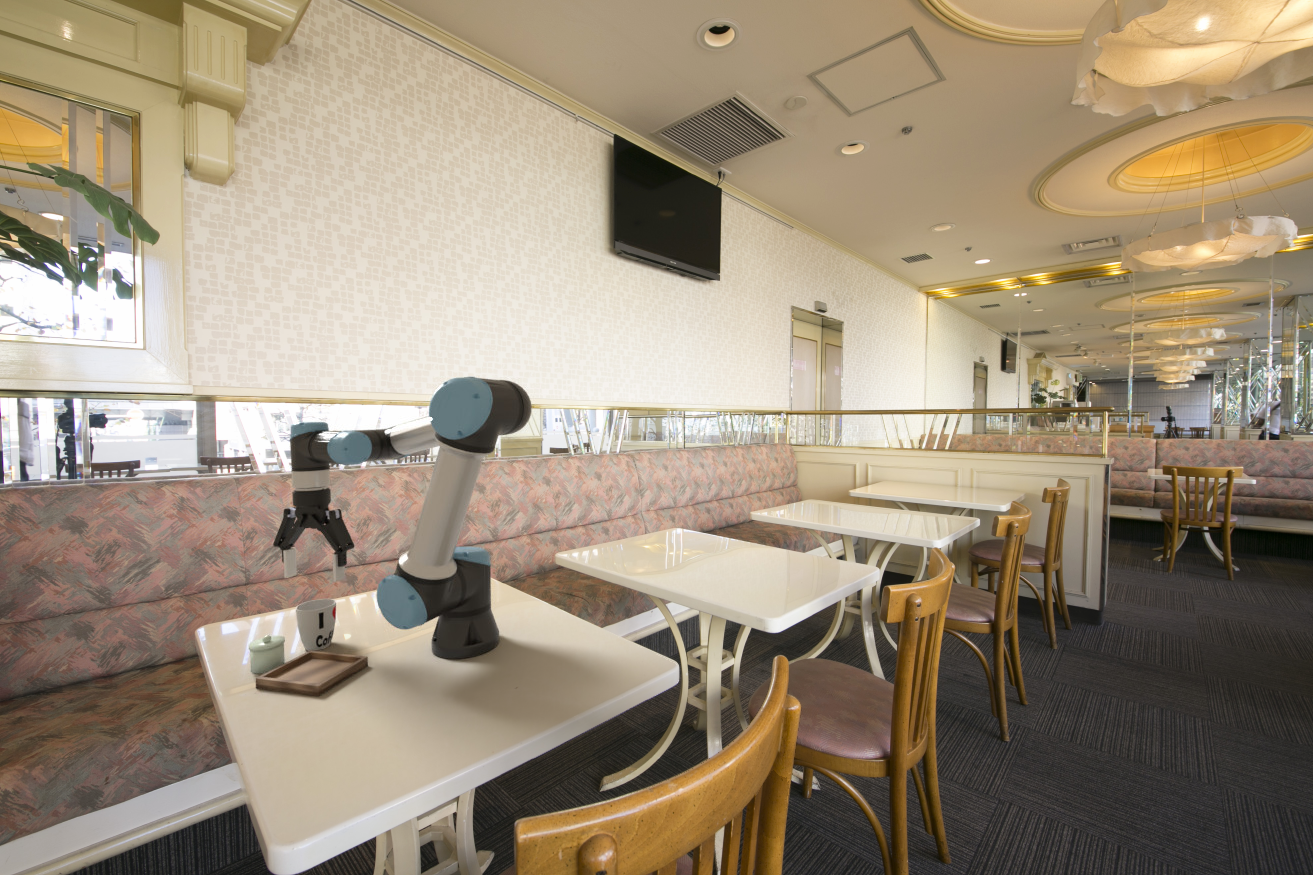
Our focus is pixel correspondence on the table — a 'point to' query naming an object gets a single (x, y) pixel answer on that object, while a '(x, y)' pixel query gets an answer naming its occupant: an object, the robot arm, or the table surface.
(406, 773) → the table surface
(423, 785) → the table surface
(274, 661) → the sugar pot
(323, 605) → the cup
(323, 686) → the tray
